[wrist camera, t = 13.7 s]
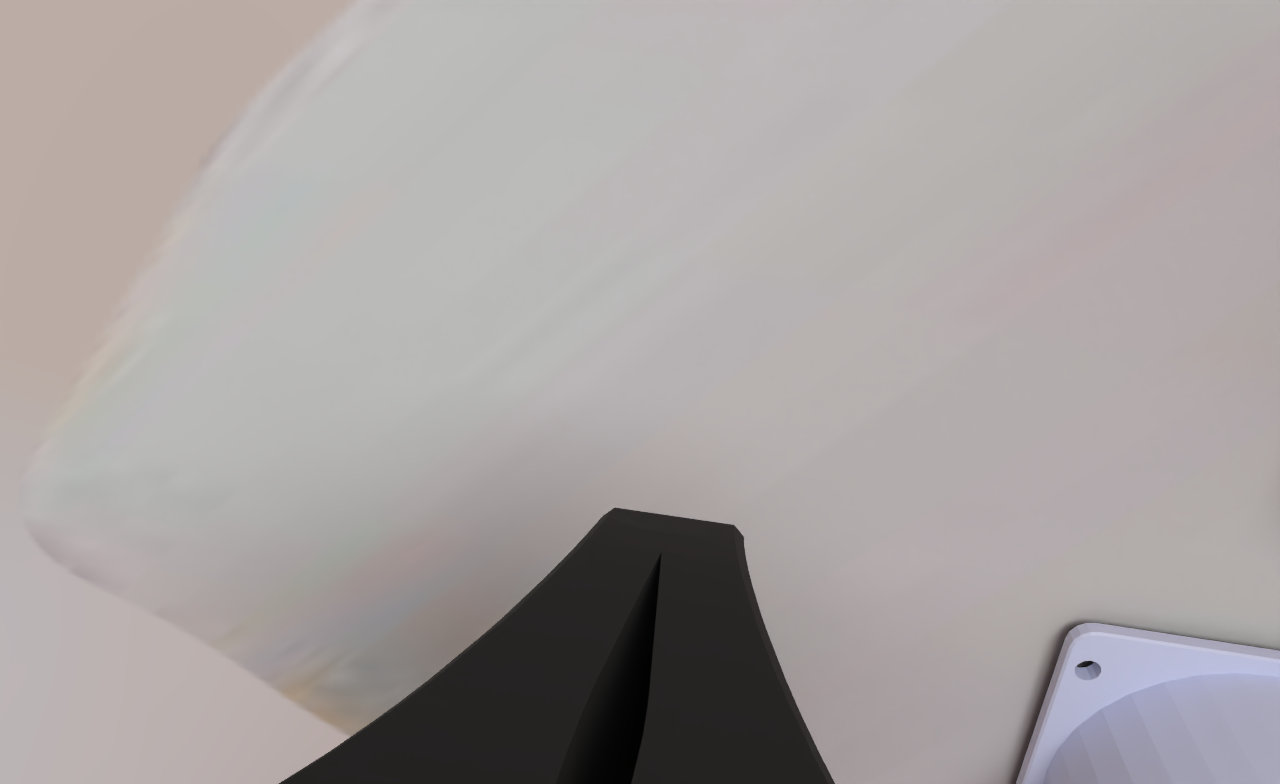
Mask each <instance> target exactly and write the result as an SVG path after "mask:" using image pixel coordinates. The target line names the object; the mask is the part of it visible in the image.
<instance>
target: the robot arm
mask: <svg viewBox="0 0 1280 784" xmlns="http://www.w3.org/2000/svg"><path fill="white" fill-rule="evenodd" d="M1083 661H1093V664H1092V665H1090V666H1088V667H1076V666H1077V665H1078V664H1079V663H1081V662H1083ZM279 784H835V783H834V781H833V779H832V777H831V775H830V773H829V771H828V769H827V767H826V765H825V763H824V761H823V760H822V758H821V756H820V754H819V751H818V749H817V747H816V745H815V743H814V741H813V739H812V737H811V735H810V733H809V730H808V728H807V726H806V724H805V722H804V720H803V718H802V716H801V714H800V712H799V709H798V707H797V705H796V702H795V700H794V698H793V696H792V693H791V691H790V689H789V686H788V684H787V682H786V679H785V677H784V674H783V672H782V669H781V666H780V664H779V661H778V659H777V656H776V654H775V651H774V649H773V646H772V643H771V641H770V638H769V636H768V633H767V630H766V628H765V625H764V622H763V619H762V616H761V613H760V610H759V607H758V603H757V600H756V597H755V593H754V590H753V586H752V583H751V579H750V575H749V571H748V566H747V562H746V556H745V549H744V537H743V535H742V534H741V533H740V532H739V530H738V529H737V528H736V527H735V525H730V524H723V523H716V522H709V521H702V520H695V519H689V518H682V517H675V516H668V515H661V514H654V513H647V512H640V511H634V510H627V509H620V508H614V509H612V510H611V511H609V512H608V513H607V514H605V515H604V516H603V517H602V518H601V519H600V520H599V521H598V522H597V524H596V525H595V526H594V527H593V528H592V529H591V530H590V531H589V532H588V534H587V535H586V536H585V537H584V538H583V539H582V540H581V541H580V542H579V543H578V544H577V546H576V547H575V548H574V549H573V550H572V551H571V552H570V553H569V554H568V555H567V556H566V557H565V558H564V559H563V560H562V561H561V562H560V563H559V564H558V565H557V566H556V567H555V568H554V569H553V570H552V571H551V572H550V573H549V574H548V575H547V576H546V577H545V578H544V579H543V580H542V581H541V582H540V583H539V584H538V585H537V586H536V587H535V588H534V589H533V590H532V591H531V592H529V593H528V594H527V595H526V596H525V597H524V598H523V599H522V600H521V601H520V602H519V603H518V604H517V605H516V606H515V607H513V608H512V609H511V610H510V611H509V612H508V613H507V614H506V615H505V616H504V617H503V618H502V619H501V620H500V621H498V622H497V623H496V624H495V625H494V626H493V627H492V628H491V629H489V630H488V631H487V632H486V633H485V634H484V635H482V636H481V637H480V638H479V639H478V640H476V641H475V642H474V643H473V644H472V645H470V646H469V647H468V648H467V649H465V650H464V651H463V652H462V653H461V654H459V655H458V656H457V657H456V658H455V659H453V660H452V661H451V662H450V663H449V664H447V665H446V666H445V667H444V668H443V669H441V670H440V671H439V672H438V673H437V674H435V675H434V676H433V677H432V678H431V679H429V680H428V681H427V682H425V683H424V684H423V685H422V686H420V687H419V688H418V689H416V690H415V691H414V692H412V693H411V694H410V695H408V696H407V697H406V698H405V699H403V700H402V701H401V702H399V703H398V704H397V705H395V706H394V707H392V708H391V709H390V710H388V711H387V712H386V713H384V714H383V715H382V716H380V717H379V718H377V719H376V720H375V721H373V722H372V723H370V724H369V725H367V726H366V727H364V728H363V729H362V730H360V731H359V732H357V733H356V734H354V735H353V736H352V737H350V738H349V739H347V740H346V741H344V742H343V743H341V744H340V745H339V746H337V747H336V748H334V749H333V750H331V751H330V752H328V753H327V754H325V755H324V756H322V757H321V758H319V759H318V760H316V761H314V762H313V763H311V764H309V765H308V766H306V767H305V768H303V769H302V770H300V771H298V772H297V773H295V774H294V775H292V776H291V777H289V778H287V779H286V780H284V781H282V782H281V783H279ZM1016 784H1280V651H1278V650H1272V649H1265V648H1258V647H1252V646H1245V645H1239V644H1232V643H1225V642H1219V641H1212V640H1206V639H1199V638H1192V637H1186V636H1179V635H1173V634H1166V633H1159V632H1153V631H1146V630H1140V629H1133V628H1126V627H1120V626H1113V625H1107V624H1100V623H1084V624H1081V625H1078V626H1076V627H1074V628H1073V629H1072V630H1070V631H1069V633H1068V634H1067V636H1066V637H1065V640H1064V643H1063V646H1062V649H1061V652H1060V655H1059V658H1058V661H1057V664H1056V667H1055V670H1054V673H1053V676H1052V679H1051V681H1050V684H1049V687H1048V690H1047V693H1046V696H1045V699H1044V702H1043V705H1042V708H1041V711H1040V714H1039V717H1038V720H1037V723H1036V726H1035V729H1034V731H1033V734H1032V737H1031V740H1030V743H1029V746H1028V749H1027V752H1026V755H1025V758H1024V761H1023V764H1022V767H1021V770H1020V773H1019V776H1018V779H1017V781H1016Z"/></svg>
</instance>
